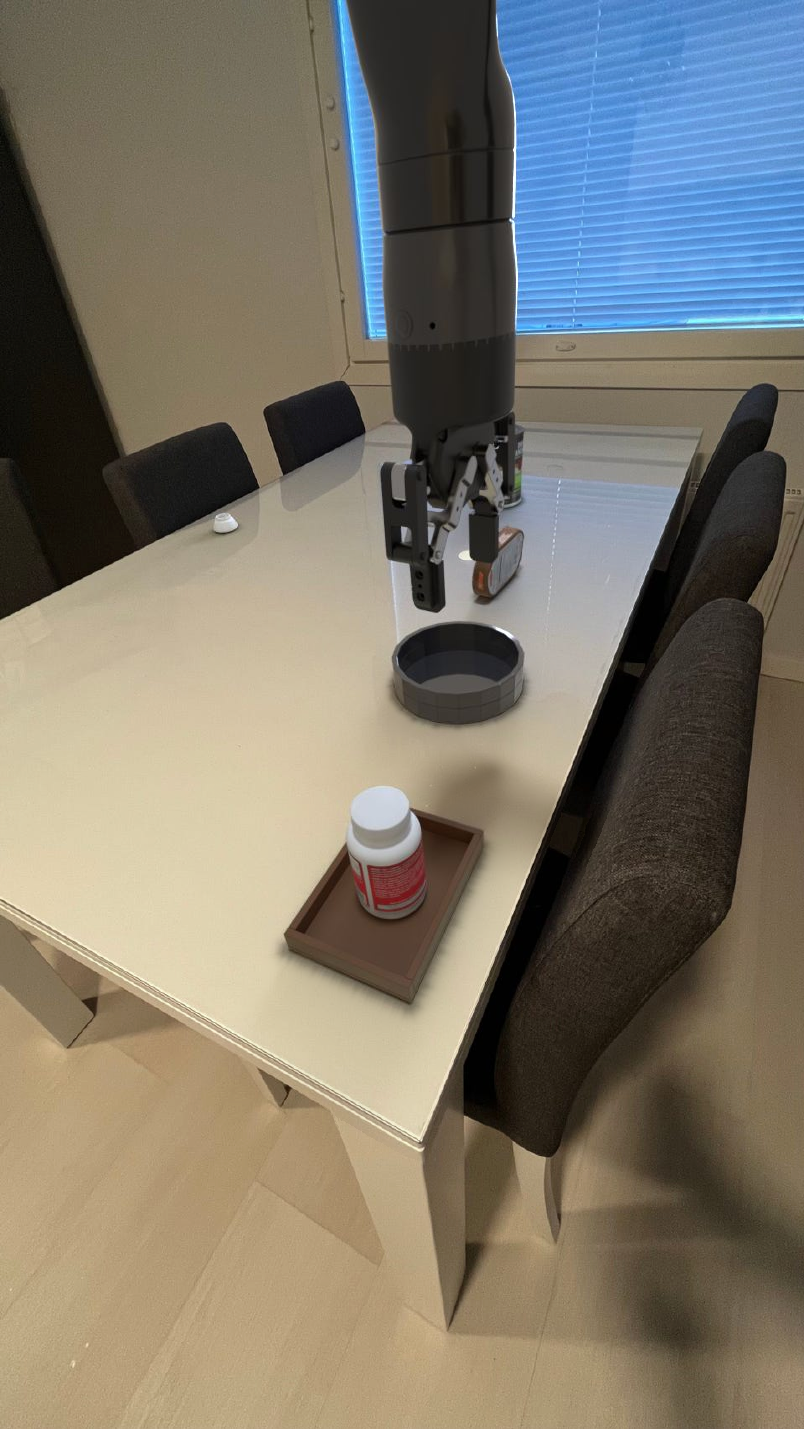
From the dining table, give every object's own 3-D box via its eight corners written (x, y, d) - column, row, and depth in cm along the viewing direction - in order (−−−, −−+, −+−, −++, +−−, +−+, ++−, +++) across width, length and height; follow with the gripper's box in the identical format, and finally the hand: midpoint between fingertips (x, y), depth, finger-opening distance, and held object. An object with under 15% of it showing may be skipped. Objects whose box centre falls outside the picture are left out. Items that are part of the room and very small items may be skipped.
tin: (508, 565, 104) (510, 517, 98) (525, 567, 102) (528, 519, 97) (470, 604, 94) (469, 553, 89) (488, 608, 93) (489, 556, 87)
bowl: (549, 680, 77) (551, 651, 74) (459, 742, 69) (458, 712, 66) (456, 636, 87) (456, 608, 84) (369, 686, 79) (365, 657, 76)
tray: (410, 1003, 46) (408, 988, 45) (288, 948, 51) (283, 933, 49) (483, 845, 57) (484, 830, 56) (378, 812, 62) (376, 796, 60)
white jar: (242, 525, 129) (221, 524, 130) (238, 511, 127) (218, 511, 128) (231, 534, 125) (210, 533, 126) (227, 520, 123) (206, 520, 125)
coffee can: (528, 495, 129) (532, 424, 120) (509, 512, 123) (511, 438, 114) (485, 490, 134) (485, 421, 125) (463, 506, 127) (462, 435, 118)
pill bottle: (439, 880, 54) (434, 795, 47) (403, 934, 50) (390, 849, 43) (383, 853, 57) (369, 769, 50) (344, 902, 53) (324, 818, 46)
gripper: (448, 349, 29) (458, 640, 39) (558, 308, 38) (542, 553, 48) (324, 350, 32) (363, 617, 42) (452, 312, 41) (459, 540, 51)
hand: (458, 583), depth 45 cm, fingers open, 8 cm apart
